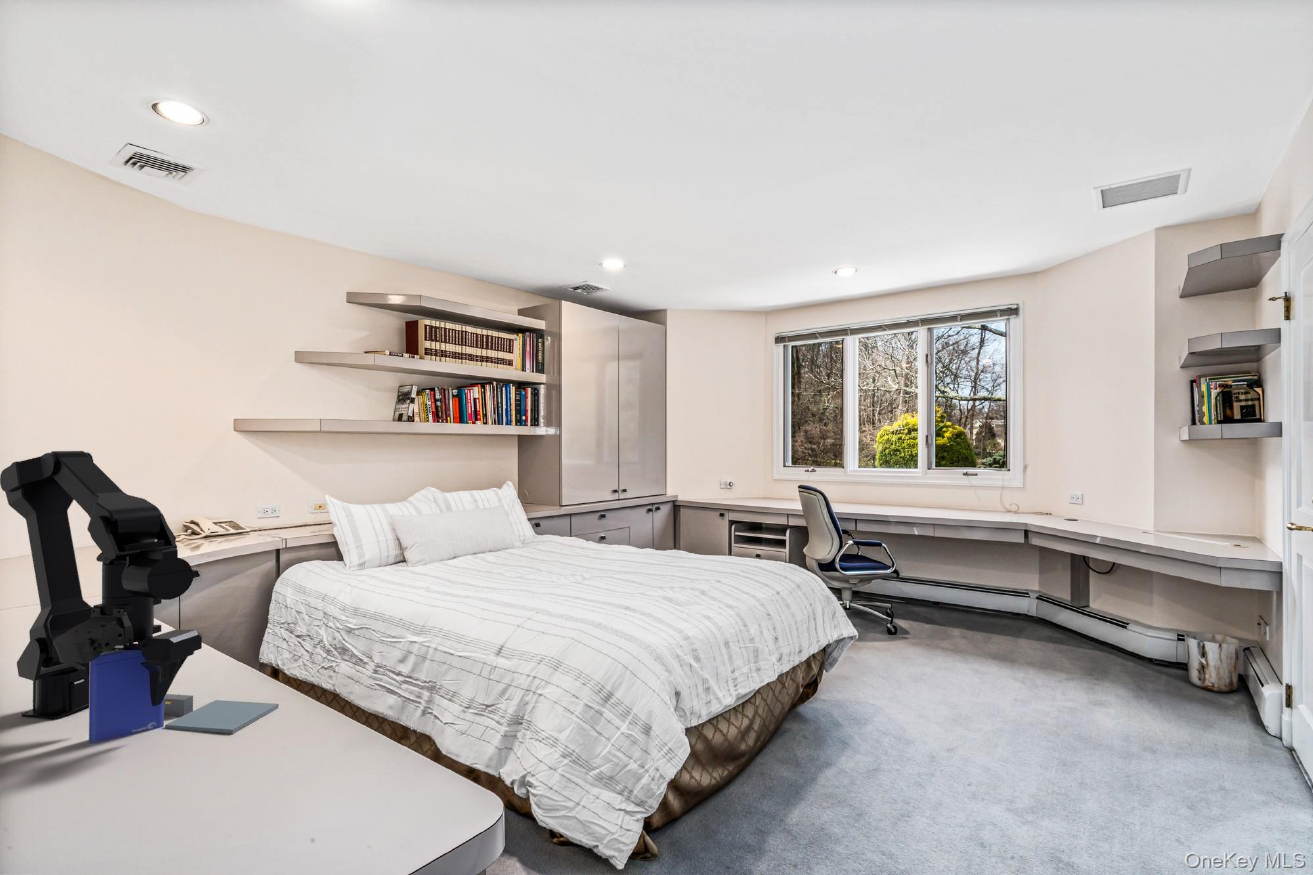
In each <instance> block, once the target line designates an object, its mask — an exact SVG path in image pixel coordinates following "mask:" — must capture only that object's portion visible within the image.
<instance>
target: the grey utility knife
mask: <svg viewBox="0 0 1313 875" xmlns="http://www.w3.org/2000/svg"><path fill="white" fill-rule="evenodd" d="M192 711H194V695H191V694H190V695H189V694H188V695H187V694H174V693H173V694H172V693H166V695H165V697H164V716H165V715H166V716H167V715H168V716H177V717H178V716H179V717H182V716H184V715H186V714H188V713H190V712H192Z"/></svg>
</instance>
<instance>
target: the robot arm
mask: <svg viewBox="0 0 1313 875" xmlns="http://www.w3.org/2000/svg"><path fill="white" fill-rule="evenodd" d="M0 489H1V490H2V491H3V492H5V496H6V500H7V504H8V506H10V508H12V509H13V510H14V511H15V512H17V513H18V514H19V515H20V516H21V517H22V518H24V519H25V523H26V528H27V534H28V539H29V546H30V551H31V552H30V553H31V558H32V564H33V570H34V575H35V582H36V586H37V594H38V599H39V605H40V612H39V613H38V615H37V616H36V618H35V620H34V622H33V624H32V625H31V628H30V629H29V631H28V632H29V634H28V635H29V642H28V643H27V645H26V646H25V648H24V650H23V652H22V653H21V655H20V657H19V658H18V659H17V661H16V669H17V674H18V677H19V678H22V679H26V680H30V681H32V708H31V709H29V710H26V711H24V712H21V716H20V717H21V718H32V719H33V718H34V719H45V720H46V719H48V720H49V719H50V720H58V719H62V718H63V717H66V716H68V715H71V714H74V713H77V712H79V711H82V710H84V709H86V708H89V675H90V662H91V661H93V660H95V659H96V658H98V657H99V656H100V654H101V653H103V652H107V651H113V650H142V656H143V657H144V658H145V659H146V660H147V661H145V662H142V663H141V665H142V666H143V667H145V668H146V669H147V670H148V671H149V678H150V697H151V703H152V706H158V705H160V704H161V703H162V701H163V699H164V697H165V695H166V694H168V691H169V689H170V687H171V685H172V684H173V682H174V680H175V679H176V676H177V675H178V672H179V671H180V670H181V668H182V666H183V664H184V663H185V662H186V660H187V659H188V657H191V656H193V655H194V654H195V652H196V651H199V650H202V648H203V647H202V646H203V641H202V640H203V635H202V633H201V632H199V630H197V629H174V630H173V629H172V630H170V631H166V632H164V633H161V632H162V624H155V606H157V605H160V604H162V600H163V601H164V600H165V601H170V600H174V599H177V598H179V597H181V596H182V595H184V594H185V593H186V592H187V591H188V590H189V588H190V587H191V586H192V583H193V581H194V576H195V572H194V569H192V565H191V564H190V563H189V562H188V561H187V560H185V559H184V558H181V557H178V556H179V555H178V554H179V552H178V545H177V544H176V540H177V537H176V535H175V534H174V533H173V531H172V530H171V528H170V526H169V524H168V523H167V520H166V518H165V515H164V514H163V512H161V510H160V509H159V508H158V506H157V505H155V504H154V503H152V502H150V501H148V500H147V499H146V498H144V497H143V498H142V497H138V496H134V495H131V494H130V495H129V494H127V493H126V492H124V491H123V490H122V489H121V487H119V485H117V484H116V482H114V481H113V480H112V479H111V478H110V477H109V476H108V475H107V474H106V473H105V472H104V471H103V470H102V469H101V468H100V467H99V466H98V465H97V464H96V463H95V462H94V459H93V455H92V453H90V452H88V451H87V452H85V451H84V450H54V451H53V450H52V451H51V452H45V453H44V454H42V455H41V456H37V457H33V458H28V459H24V460H20V461H13V462H12V463H11V464H10V465H9V466H7V467H5V468H4V469H3V470H1V472H0ZM74 501H75V502H76V503H77V505H78V506H80V508H81V509H82V510H83V511H84V512H85V513H86V515H88V517H89V522H88V525H87V532H88V533H89V536H90V537H91V539H92V541H93V542H94V544H95V545H96V546H97V547H98V549H99V550H100V551H101V552H100V553H99V554H98V555H97V556H96V559H95V560H96V562H100V563H101V562H102V564H101V603H98V604H93V606H91V605H90V604H89V603H88V602H87V601H86V600H84V598H83V593H82V587H81V583H80V582H81V581H80V575H79V570H78V564H77V557H76V554H75V553H76V552H75V548H74V540H73V537H72V530H71V525H70V524H71V523H70V517H69V513H68V510H69V509H70V507H71V506H72V504H73V502H74ZM158 633H160V634H158ZM155 634H157V635H155Z"/></svg>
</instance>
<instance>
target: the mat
mask: <svg viewBox="0 0 1313 875" xmlns="http://www.w3.org/2000/svg"><path fill="white" fill-rule="evenodd" d="M277 709H279V703H271V702H269V703H268V702H257V701H256V702H255V701H253V702H252V701H240V700H239V701H237V700H222V699H221V700H220V699H215V700H213V701H211V702H209V703H207V704H205V705H202V706H201V707H199V708H196V709H193V711H192V712H190V713H188V714H186V715H184V716H179V718H176V719H174V720H171V721H170V722H167V723H166V724H165V725H164V729H171V730H172V729H173V730H181V729H184V730H185V731H192V732H202V731H209V732H208V733H215V732H220V733H219V734H232V735H233V734H235V733H237V732H239V731H240V730H242V729H244V728H245V727H248V726H249V725H251V724H252V723H254V722H257V721H258V720H259V719H262V718H263V717H265V716H267V715H268V714H270V713H273V711H275V710H277ZM184 730H183V731H184Z"/></svg>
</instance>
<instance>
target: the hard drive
mask: <svg viewBox="0 0 1313 875" xmlns="http://www.w3.org/2000/svg"><path fill="white" fill-rule="evenodd" d="M145 661H147V660H146V659H145V658H144V657H143V656H142V650H113V651H107V652H103V653H101V654H100V656H99V657H98V658H96V659H95V660H93V661H91V662H90V675H89V707H88V743H89V744H90V743H97V742H98V743H99V742H102V741H106V740H110V739H115V738H119V737H125V736H129V735H133V734H137V733H142V732H147V731H151V730H156V729H161V728H163V727H165V725H164V724H165V721H164V720H165V714H164V699H163V701H162V703H161V704H160V705H158V706H152V703H151V697H150V678H149V671H148V670H147V669H146V668H145V667H143V666H142V665H141V663H142V662H145Z"/></svg>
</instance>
